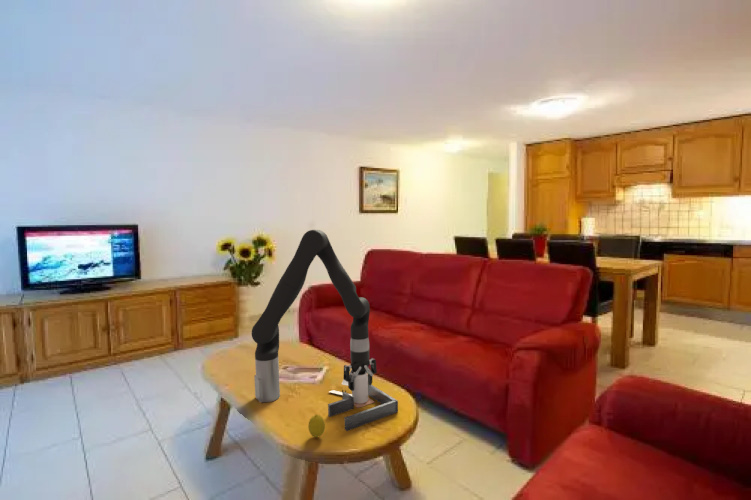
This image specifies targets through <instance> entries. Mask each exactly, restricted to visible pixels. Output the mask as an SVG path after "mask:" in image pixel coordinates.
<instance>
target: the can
mask: <svg viewBox="0 0 751 500" xmlns="http://www.w3.org/2000/svg"><path fill="white" fill-rule="evenodd" d="M354 373H355V372H354ZM354 373H353V374H354ZM353 382H354V390H353V391H351V394H352V397H353V398H354V403H356V404H364V403H366V402H367V401H368V398H369V395H368V374H367V371H365V373H361V374H358V375H357V376H356V377H355V378H354V380H353Z"/></svg>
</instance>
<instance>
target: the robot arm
mask: <svg viewBox="0 0 751 500" xmlns="http://www.w3.org/2000/svg"><path fill="white" fill-rule="evenodd" d="M316 256H317V257H318V258H319V259H320V261H321V262H322V263H323V264H322V265H324V267H325V269H326V272H327V275H328V277H329V279H330V281H331V284H332V285H333V287H334V288H335V289H336V291H337V293H338V294H339V295H340V297H341V300H342V302H343V305H344V308H345V310H346V312H347V313H348V315H350V317H352V322H351V324H350V343H349V347H350V348H349V349H350V364H349V365H347V364H344V365H343V379H344V380H345V381H347V382H348V386H347V388H348V390H349V391H351V392H352V391H353V390H354V382H353V380H354V378H355V377H356V376H357V375H358V374H361V373H365V371H367V375H368V385H373V376H374V375H375V374H377V372H378V371H377V360H376V359H375V358H373V357H371V358H370V340H369V321H370V313H371V312H370V311H371V307H370V302H369V301H368V299H366V298H365V297H361V296H360V297H359V295H358V294H357V287H356V284H355V283H354V282H353V280H352V279H351V277H350V275H349V273H348V272H347V271H346V269H345V268H344V267H343V264H342V263H341V262H340V260H339V259H338V256H337V255H336V253H335V250H334V249H333V246H332V245H331V242H330V239H329V238H328V236H327V234H326V232H324V231H322V230H320V229H310V230H307V231H306V232H305V233H303V236H302V237H301V239H300V242H299V244H298V247H297V248H296V251H295V254H294V256H293V257H292V259H291V261H290V262H289V264H288V266H286V267H287V268H286V269H285V271H284V272H283V274H282V276H281V278H280V279H279V280H278V283H277V284H276V287H275V288H274V291H273V293H272V294H271V297H270V298H269V301H268V303H267V305H266V307H265V309H264V311H263V313H261V315H260V316H259V318H258V320H257V321H256V322H255V324H254V325H253V326H252V328H251V338H252V340H253V341H254V342H255V343H256V349H255V351H254V359H255V361H254V362H255V366H254V367H255V375H254V395H255V397H256V400H257V401H258V402H259V403H260V402H261V403H271V402H274V401H276V400H278V399H279V398H280V396H281V393H280V392H281V390H280V389H281V388H280V370H279V369H280V367H279V350H280V329H279V327H280V326H279V324H280V323H281V320H282V318H283V317H284V315H285V314H286V312H287V311H288V310H289V309H290V307H291V306H292V305H293V304H294V303H295V300H296V299H297V298H298V295H299V294H300V292H301V291H302V289H303V287H304V285H305V282H306V278H307V275H308V271H309V268H310V266H311V265H312V263H313V261H314V259H315V258H316ZM369 366H370V368H369ZM354 372H355V373H354ZM353 373H354V374H353ZM343 379H342V380H343Z"/></svg>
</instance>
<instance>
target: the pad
mask: <svg viewBox="0 0 751 500" xmlns="http://www.w3.org/2000/svg"><path fill="white" fill-rule="evenodd" d="M375 403H376V402H375V401H374V400H373V399H372V398H371V397H368V401H367V402H366V403H364V404H356V403H354V408H355V407H356V409H360V408H362V407H365V406H369V405H371V404H375Z"/></svg>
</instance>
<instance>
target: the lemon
mask: <svg viewBox="0 0 751 500" xmlns="http://www.w3.org/2000/svg"><path fill="white" fill-rule="evenodd" d="M307 428H308V431H309V433H310V435H311V436H312V437H315V438H318V437H321V436H322V435H323V434H324V432H325V428H326V423H325V419H324V417H323V416H321V415H320V414H314V415H312V416H311V418H310V419H309V421H308V427H307Z"/></svg>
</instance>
